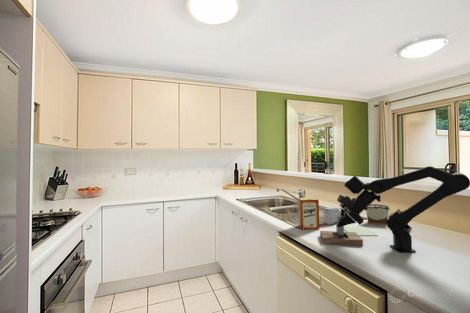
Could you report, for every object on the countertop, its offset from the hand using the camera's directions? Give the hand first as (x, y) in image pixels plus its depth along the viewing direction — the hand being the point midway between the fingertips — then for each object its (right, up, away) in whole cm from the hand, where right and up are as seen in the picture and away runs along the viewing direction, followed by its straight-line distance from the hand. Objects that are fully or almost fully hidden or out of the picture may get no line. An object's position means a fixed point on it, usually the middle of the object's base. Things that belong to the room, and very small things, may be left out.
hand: (336, 225), depth 106 cm
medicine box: (+9, -7, +27) cm, 30 cm away
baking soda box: (-6, -7, +20) cm, 22 cm away
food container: (+34, -6, +26) cm, 43 cm away
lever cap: (+2, -7, 0) cm, 7 cm away
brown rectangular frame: (+2, -7, 0) cm, 7 cm away
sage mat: (+16, -7, +12) cm, 21 cm away
